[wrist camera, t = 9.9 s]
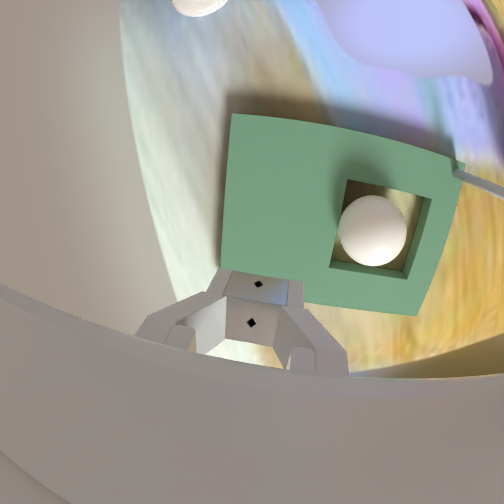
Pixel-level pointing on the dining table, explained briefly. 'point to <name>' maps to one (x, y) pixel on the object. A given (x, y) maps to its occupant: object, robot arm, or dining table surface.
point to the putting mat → (331, 209)
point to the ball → (372, 230)
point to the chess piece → (197, 6)
